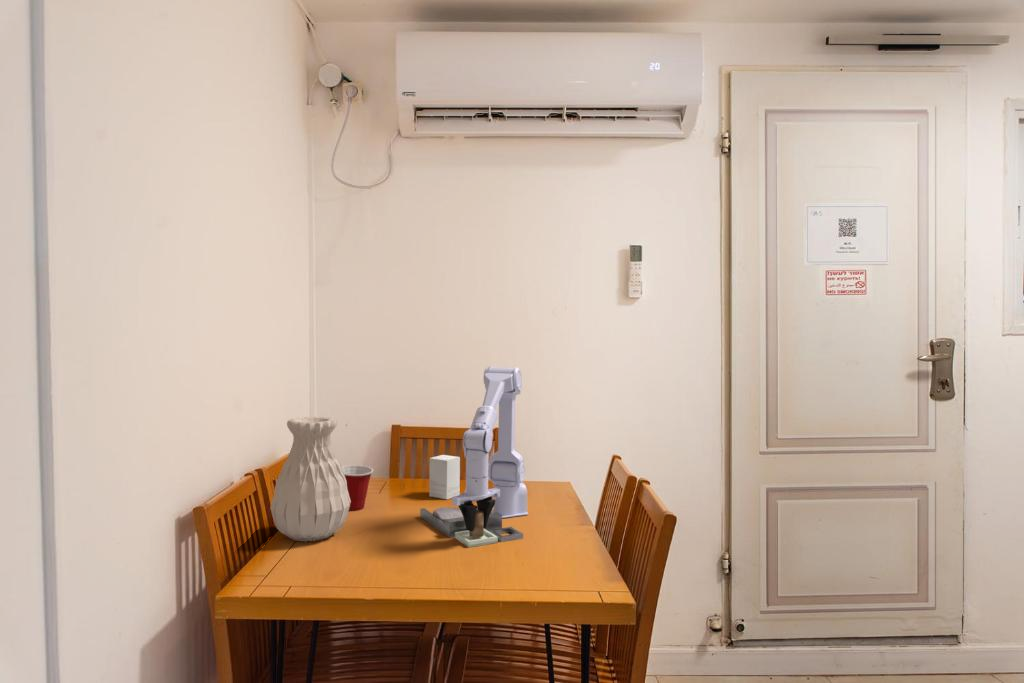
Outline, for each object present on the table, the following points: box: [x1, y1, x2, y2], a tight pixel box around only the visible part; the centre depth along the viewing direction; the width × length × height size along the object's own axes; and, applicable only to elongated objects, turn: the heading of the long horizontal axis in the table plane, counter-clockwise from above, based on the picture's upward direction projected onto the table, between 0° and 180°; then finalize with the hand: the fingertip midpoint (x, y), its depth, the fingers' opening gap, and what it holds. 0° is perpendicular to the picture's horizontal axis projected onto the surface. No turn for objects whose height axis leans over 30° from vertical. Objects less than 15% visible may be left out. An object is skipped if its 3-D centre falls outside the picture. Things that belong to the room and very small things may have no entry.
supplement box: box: [428, 454, 461, 500], centre depth 213 cm, size 7×7×13 cm
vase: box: [270, 416, 351, 542], centre depth 171 cm, size 20×20×30 cm
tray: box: [454, 529, 499, 548], centre depth 168 cm, size 8×8×2 cm
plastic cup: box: [341, 464, 374, 512], centre depth 196 cm, size 11×11×12 cm
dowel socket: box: [489, 526, 524, 543], centre depth 172 cm, size 7×7×1 cm
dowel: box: [469, 510, 484, 537], centre depth 168 cm, size 4×4×6 cm
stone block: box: [431, 506, 463, 522], centre depth 182 cm, size 12×5×10 cm
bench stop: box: [419, 507, 503, 539], centre depth 183 cm, size 15×21×4 cm
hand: (476, 528), depth 168 cm, fingers open, 4 cm apart
